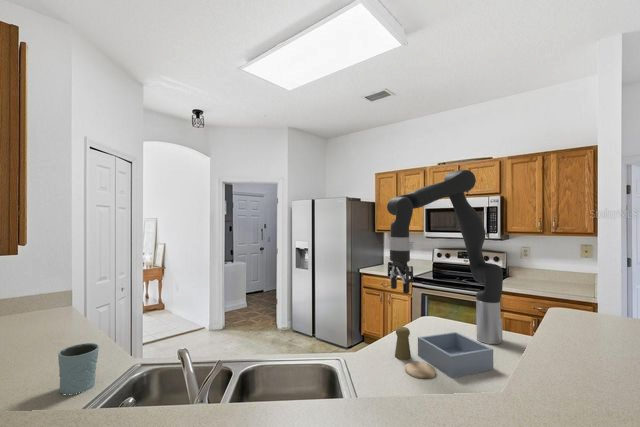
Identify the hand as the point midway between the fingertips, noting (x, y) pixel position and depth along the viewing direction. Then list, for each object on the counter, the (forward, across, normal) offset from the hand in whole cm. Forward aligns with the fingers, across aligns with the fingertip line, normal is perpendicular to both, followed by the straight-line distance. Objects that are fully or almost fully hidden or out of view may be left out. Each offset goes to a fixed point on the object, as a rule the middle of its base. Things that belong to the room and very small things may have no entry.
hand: (399, 291), depth 122 cm
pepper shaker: (+25, -1, 0) cm, 25 cm away
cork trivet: (+25, -13, 0) cm, 28 cm away
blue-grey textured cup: (+25, +11, +108) cm, 111 cm away
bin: (+25, -11, -16) cm, 31 cm away
